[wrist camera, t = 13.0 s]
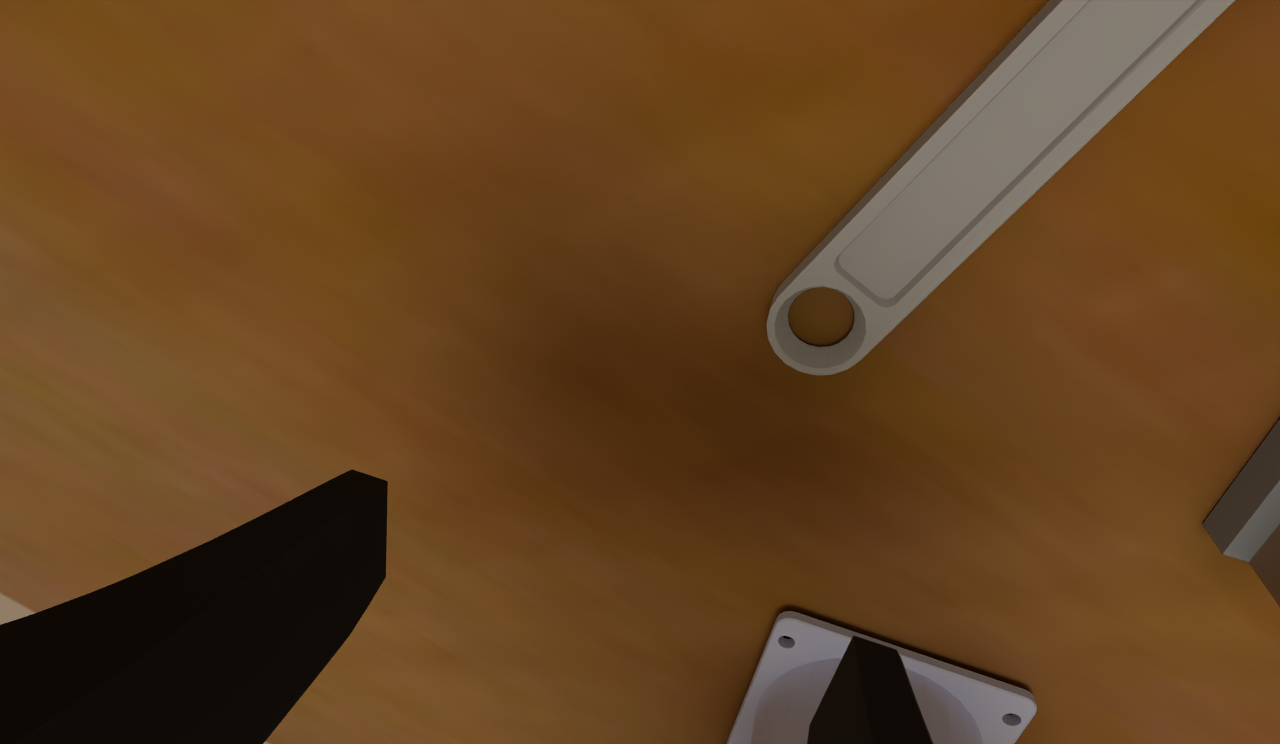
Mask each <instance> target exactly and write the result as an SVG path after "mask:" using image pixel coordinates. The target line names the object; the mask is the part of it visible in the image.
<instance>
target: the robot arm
mask: <svg viewBox="0 0 1280 744" xmlns="http://www.w3.org/2000/svg"><path fill="white" fill-rule="evenodd" d="M387 485H388V481H385V480H382V479H379V478H376V477H373V476H370V475H367V474H364V473H361V472H358V471H355V470H350V471H348V472H346V473H344V474H341V475H339V476H337V477H335V478H333V479H331V480H329V481H328V482H326V483H324V484H322V485H320V486H318V487H316V488H314V489H312V490H310V491H308V492H306V493H304V494H302V495H300V496H298V497H296V498H294V499H292V500H291V501H289V502H287V503H285V504H283V505H281V506H279V507H277V508H275V509H273V510H271V511H269V512H267V513H265V514H263V515H261V516H259V517H257V518H255V519H253V520H251V521H249V522H247V523H245V524H243V525H241V526H239V527H237V528H235V529H233V530H231V531H229V532H227V533H225V534H223V535H221V536H219V537H217V538H215V539H213V540H211V541H209V542H207V543H204V544H202V545H200V546H198V547H195V548H193V549H191V550H189V551H187V552H184V553H182V554H180V555H178V556H175V557H173V558H171V559H169V560H167V561H164V562H162V563H160V564H158V565H155V566H153V567H151V568H149V569H147V570H144V571H142V572H140V573H138V574H135V575H133V576H131V577H128V578H126V579H124V580H121V581H119V582H116V583H114V584H111V585H109V586H106V587H104V588H101V589H99V590H96V591H94V592H91V593H89V594H86V595H84V596H81V597H78V598H75V599H73V600H70V601H67V602H65V603H62V604H59V605H57V606H54V607H51V608H49V609H46V610H43V611H41V612H38V613H35V614H32V615H29V616H27V617H24V618H21V619H17V620H14V621H11V622H8V623H5V624H2V625H0V744H263V743H264V742H265V741H266V739H267V738H268V737H269V736H270V734H271V733H272V732H273V731H274V729H275V728H276V727H277V726H278V724H279V723H280V722H281V721H282V720H283V718H284V717H285V716H286V715H287V713H288V712H289V711H290V710H291V708H292V707H293V706H294V705H295V703H296V702H297V701H298V700H299V698H300V697H301V696H302V695H303V693H304V692H305V691H306V690H307V688H308V687H309V686H310V685H311V683H312V682H313V681H314V680H315V678H316V677H317V676H318V675H319V673H320V672H321V671H322V670H323V668H324V667H325V666H326V665H327V663H328V662H329V661H330V660H331V658H332V657H333V656H334V654H335V653H336V652H337V651H338V649H339V648H340V647H341V646H342V644H343V643H344V642H345V640H346V639H347V638H348V637H349V635H350V634H351V632H352V631H353V629H354V628H355V626H356V624H357V623H358V621H359V620H360V618H361V617H362V615H363V613H364V612H365V610H366V609H367V607H368V605H369V604H370V602H371V600H372V599H373V597H374V595H375V594H376V592H377V590H378V589H379V587H380V585H381V584H382V582H383V581H384V579H385V577H386V535H387ZM781 636H789V637H791V638H792V639H785V638H783V637H781ZM1036 711H1037V706H1036V702H1035V699H1034V696H1033V695H1032V694H1031V693H1030V692H1029V691H1027V690H1025V689H1022V688H1019V687H1016V686H1013V685H1010V684H1008V683H1005V682H1002V681H999V680H996V679H993V678H990V677H987V676H984V675H981V674H978V673H975V672H972V671H969V670H966V669H963V668H960V667H957V666H954V665H951V664H948V663H945V662H942V661H939V660H936V659H934V658H931V657H928V656H925V655H922V654H919V653H916V652H913V651H910V650H907V649H904V648H901V647H898V646H895V645H892V644H889V643H886V642H883V641H880V640H877V639H874V638H871V637H868V636H865V635H862V634H860V633H857V632H854V631H851V630H848V629H845V628H842V627H839V626H836V625H833V624H830V623H827V622H824V621H821V620H818V619H815V618H812V617H809V616H806V615H803V614H800V613H797V612H793V611H786V612H783V613H781V614H779V615H778V617H777V618H776V620H775V623H774V625H773V628H772V630H771V633H770V635H769V638H768V640H767V643H766V645H765V648H764V650H763V653H762V655H761V658H760V660H759V663H758V665H757V668H756V670H755V673H754V675H753V678H752V680H751V683H750V685H749V688H748V690H747V693H746V695H745V698H744V700H743V703H742V705H741V708H740V710H739V713H738V715H737V718H736V720H735V723H734V725H733V728H732V730H731V733H730V735H729V738H728V740H727V743H726V744H1015V742H1016V741H1017V739H1018V738H1019V736H1020V735H1021V734H1022V732H1023V731H1024V729H1025V728H1026V727H1027V725H1028V724H1029V722H1030V721H1031V719H1032V718H1033V717H1034V715H1035V714H1036ZM1009 713H1012V714H1014V715H1007V714H1009Z"/></svg>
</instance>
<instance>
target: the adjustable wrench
mask: <svg viewBox="0 0 1280 744" xmlns="http://www.w3.org/2000/svg"><path fill="white" fill-rule="evenodd" d="M1234 1H1235V0H1049V2H1048V3H1047V4H1046V5H1045V6H1044V7H1043V8H1042V9H1041V10H1040V11H1039V12H1038V13H1037V14H1036V15H1035V16H1034V17H1033V18H1032V19H1031V21H1030V22H1029V23H1028V24H1027V25H1026V26H1025V27H1024V28H1023V29H1022V30H1021V31H1020V32H1019V33H1018V34H1017V35H1016V36H1015V37H1014V38H1013V39H1012V41H1011V42H1010V43H1009V44H1008V45H1007V46H1006V47H1005V48H1004V49H1003V50H1002V51H1001V52H1000V53H999V54H998V55H997V56H996V57H995V58H994V60H993V61H992V62H991V63H990V64H989V65H988V66H987V67H986V68H985V69H984V70H983V71H982V72H981V73H980V74H979V75H978V76H977V77H976V79H975V80H974V81H973V82H972V83H971V84H970V85H969V86H968V87H967V88H966V89H965V90H964V91H963V92H962V93H961V94H960V95H959V96H958V98H957V99H956V100H955V101H954V102H953V103H952V104H951V105H950V106H949V107H948V108H947V109H946V110H945V111H944V112H943V113H942V114H941V115H940V117H939V118H938V119H937V120H936V121H935V122H934V123H933V124H932V125H931V126H930V127H929V128H928V129H927V130H926V131H925V132H924V133H923V134H922V136H921V137H920V138H919V139H918V140H917V141H916V142H915V143H914V144H913V145H912V146H911V147H910V148H909V149H908V150H907V151H906V152H905V153H904V154H903V156H902V157H901V158H900V159H899V160H898V161H897V162H896V163H895V164H894V165H893V166H892V167H891V168H890V169H889V170H888V171H887V172H886V173H885V175H884V176H883V177H882V178H881V179H880V180H879V181H878V182H877V183H876V184H875V185H874V186H873V187H872V188H871V189H870V190H869V191H868V192H867V194H866V195H865V196H864V197H863V198H862V199H861V200H860V201H859V202H858V203H857V204H856V205H855V206H854V207H853V208H852V209H851V210H850V211H849V213H848V214H847V215H846V216H845V217H844V218H843V219H842V220H841V221H840V222H839V223H838V224H837V225H836V226H835V227H834V228H833V229H832V230H831V232H830V233H829V234H828V235H827V236H826V237H825V238H824V239H823V240H822V241H821V242H820V243H819V244H818V245H817V246H816V247H815V248H814V249H813V251H812V252H811V253H810V254H809V255H808V256H807V257H806V258H805V259H804V260H803V261H802V262H801V263H800V264H799V265H798V266H797V267H796V268H795V270H794V271H793V272H792V273H791V274H790V275H789V276H788V277H787V278H786V279H785V280H784V281H783V282H782V284H781V285H780V287H779V288H778V290H777V291H776V293H775V294H774V297H773V301H772V304H771V308H770V311H769V316H768V320H767V334H768V340H769V342H770V344H771V346H772V348H773V350H774V352H775V353H776V355H777V356H778V357H779V358H780V359H781V360H782V361H783V362H784V363H785V364H787V365H788V366H790V367H792V368H794V369H795V370H797V371H799V372H803V373H807V374H811V375H832V374H835V373H838V372H842V371H845V370H847V369H849V368H850V367H852V366H853V365H855V364H856V363H857V362H859V361H860V360H861V359H862V358H863V357H864V356H865V355H867V354H868V353H869V352H870V351H871V350H872V349H873V348H874V347H875V346H876V345H877V344H878V343H879V342H880V341H881V340H882V339H883V338H884V337H885V336H886V335H887V334H888V333H889V332H890V331H891V330H893V329H894V328H895V327H896V326H897V325H898V324H899V323H900V322H901V321H902V320H903V319H904V318H905V317H906V316H907V315H908V314H909V313H910V312H911V311H912V310H913V309H914V308H915V307H916V306H917V305H919V304H920V303H921V302H922V301H923V300H924V299H925V298H926V297H927V296H928V295H929V294H930V293H931V292H932V291H933V290H934V289H935V288H936V287H937V286H938V285H939V284H940V283H941V282H942V281H943V280H945V279H946V278H947V277H948V276H949V275H950V274H951V273H952V272H953V271H954V270H955V269H956V268H957V267H958V266H959V265H960V264H961V263H962V262H963V261H964V260H965V259H966V258H967V257H968V256H969V255H971V254H972V253H973V252H974V251H975V250H976V249H977V248H978V247H979V246H980V245H981V244H982V243H983V242H984V241H985V240H986V239H987V238H988V237H989V236H990V235H991V234H992V233H993V232H994V231H995V230H997V229H998V228H999V227H1000V226H1001V225H1002V224H1003V223H1004V222H1005V221H1006V220H1007V219H1008V218H1009V217H1010V216H1011V215H1012V214H1013V213H1014V212H1015V211H1016V210H1017V209H1018V208H1019V207H1020V206H1021V205H1023V204H1024V203H1025V202H1026V201H1027V200H1028V199H1029V198H1030V197H1031V196H1032V195H1033V194H1034V193H1035V192H1036V191H1037V190H1038V189H1039V188H1040V187H1041V186H1042V185H1043V184H1044V183H1045V182H1046V181H1047V180H1049V179H1050V178H1051V177H1052V176H1053V175H1054V174H1055V173H1056V172H1057V171H1058V170H1059V169H1060V168H1061V167H1062V166H1063V165H1064V164H1065V163H1066V162H1067V161H1068V160H1069V159H1070V158H1071V157H1072V156H1073V155H1075V154H1076V153H1077V152H1078V151H1079V150H1080V149H1081V148H1082V147H1083V146H1084V145H1085V144H1086V143H1087V142H1088V141H1089V140H1090V139H1091V138H1092V137H1093V136H1094V135H1095V134H1096V133H1097V132H1098V131H1099V130H1101V129H1102V128H1103V127H1104V126H1105V125H1106V124H1107V123H1108V122H1109V121H1110V120H1111V119H1112V118H1113V117H1114V116H1115V115H1116V114H1117V113H1118V112H1119V111H1120V110H1121V109H1122V108H1123V107H1124V106H1125V105H1127V104H1128V103H1129V102H1130V101H1131V100H1132V99H1133V98H1134V97H1135V96H1136V95H1137V94H1138V93H1139V92H1140V91H1141V90H1142V89H1143V88H1144V87H1145V86H1146V85H1147V84H1148V83H1149V82H1150V81H1151V80H1153V79H1154V78H1155V77H1156V76H1157V75H1158V74H1159V73H1160V72H1161V71H1162V70H1163V69H1164V68H1165V67H1166V66H1167V65H1168V64H1169V63H1170V62H1171V61H1172V60H1173V59H1174V58H1175V57H1176V56H1177V55H1179V54H1180V53H1181V52H1182V51H1183V50H1184V49H1185V48H1186V47H1187V46H1188V45H1189V44H1190V43H1191V42H1192V41H1193V40H1194V39H1195V38H1196V37H1197V36H1198V35H1199V34H1200V33H1201V32H1202V31H1203V30H1205V29H1206V28H1207V27H1208V26H1209V25H1210V24H1211V23H1212V22H1213V21H1214V20H1215V19H1216V18H1217V17H1218V16H1219V15H1220V14H1221V13H1222V12H1223V11H1224V10H1225V9H1226V8H1227V7H1228V6H1229V5H1231V4H1232V3H1233V2H1234ZM818 287H826V288H830V289H835V290H836V291H838V292H840V293H842V294H843V295H844V296H845V297H846V298H847V299H848V300H849V301H850V302H851V305H852V307H853V309H854V317H855V321H854V324H853V328H852V330H851V332H850V333H849V334H848V336H847V337H846V338H845V339H844V340H842V341H841V342H839V343H838V344H835V345H832V346H823V347H817V346H813V345H809V344H806V343H804V342H802V341H801V340H799V339H798V338H797V337H796V336H795V335H794V334H793V332H792V330H791V328H790V326H789V321H788V313H789V309H790V306H791V304H792V303H793V301H794V300H795V298H796V297H797V296H799V295H800V294H801V293H802V292H804V291H806V290H809V289H812V288H818Z"/></svg>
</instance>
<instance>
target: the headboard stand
mask: <svg viewBox="0 0 1280 744" xmlns="http://www.w3.org/2000/svg"><path fill="white" fill-rule="evenodd" d="M1203 525H1204V527H1205V528H1206V530H1207V531H1208V533H1209V534H1210V536H1211V538H1212V539H1213V541H1214V542H1215V544H1216V545H1217V547H1218V548H1219V550H1220V551H1221V553H1222V554H1223V555H1227V556H1230V557H1233V558H1237V559H1240V560H1243V561H1246V562H1249V563H1250V565H1251V566H1252V568H1253V569H1254V571H1255V572H1256V573H1257V575H1258V576H1259V578H1260V579H1261V581H1262V582H1263V584H1264V585H1265V586H1266V588H1267V589H1268V591H1269V592H1270V594H1271V595H1272V597H1273V598H1274V599H1275V601H1276V602H1277V604H1278V605H1279V607H1280V419H1279V421H1278V422H1277V423H1276V425H1275V426H1274V427H1273V429H1272V430H1271V431H1270V433H1269V434H1268V436H1267V437H1266V438H1265V440H1264V441H1263V442H1262V444H1261V445H1260V446H1259V448H1258V449H1257V451H1256V452H1255V453H1254V455H1253V456H1252V457H1251V459H1250V460H1249V461H1248V463H1247V464H1246V465H1245V467H1244V468H1243V470H1242V471H1241V472H1240V474H1239V475H1238V476H1237V478H1236V479H1235V480H1234V482H1233V483H1232V484H1231V486H1230V487H1229V489H1228V490H1227V491H1226V493H1225V494H1224V495H1223V497H1222V498H1221V499H1220V501H1219V502H1218V504H1217V505H1216V506H1215V508H1214V509H1213V510H1212V512H1211V513H1210V514H1209V516H1208V517H1207V518H1206V520H1205V521H1204V523H1203Z"/></svg>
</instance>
